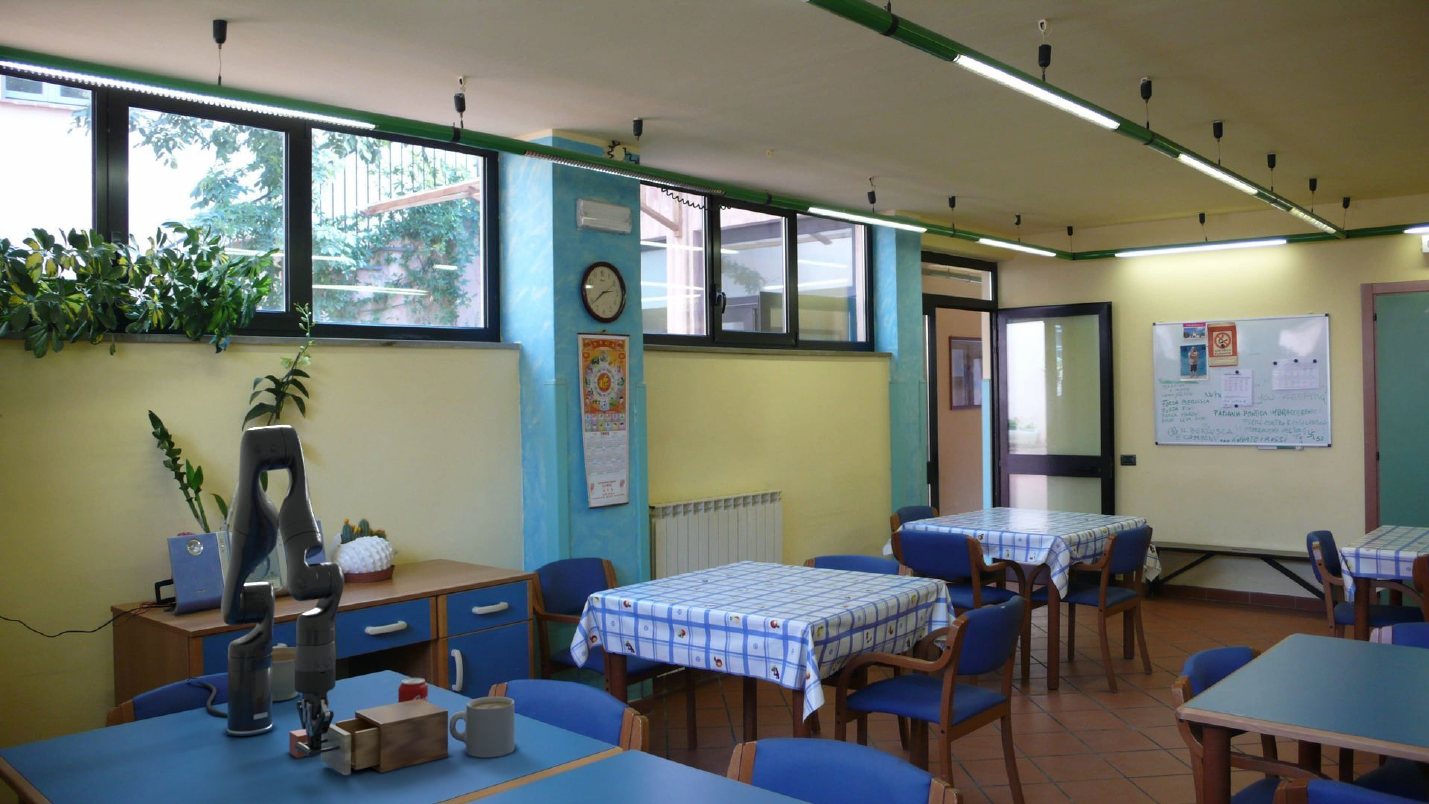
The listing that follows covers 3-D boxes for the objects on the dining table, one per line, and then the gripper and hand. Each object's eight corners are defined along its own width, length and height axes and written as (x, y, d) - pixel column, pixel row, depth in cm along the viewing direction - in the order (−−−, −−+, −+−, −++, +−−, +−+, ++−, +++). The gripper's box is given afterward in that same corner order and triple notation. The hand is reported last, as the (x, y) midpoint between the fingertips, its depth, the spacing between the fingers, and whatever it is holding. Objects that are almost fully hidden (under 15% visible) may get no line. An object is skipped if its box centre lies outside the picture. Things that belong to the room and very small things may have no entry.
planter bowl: (228, 704, 256) (228, 659, 257) (266, 687, 272) (267, 646, 273) (288, 707, 254) (288, 662, 254) (323, 690, 270) (324, 648, 270)
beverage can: (419, 739, 228) (419, 684, 229) (392, 737, 230) (393, 683, 230) (432, 731, 235) (432, 677, 235) (406, 729, 236) (407, 676, 236)
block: (289, 753, 219) (289, 731, 219) (310, 748, 222) (310, 727, 222) (297, 758, 216) (297, 736, 216) (318, 753, 219) (319, 732, 219)
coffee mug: (519, 743, 226) (519, 697, 226) (506, 758, 216) (507, 709, 216) (459, 741, 227) (459, 695, 227) (443, 756, 217) (444, 708, 217)
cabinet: (381, 772, 207) (381, 724, 207) (354, 757, 216) (354, 711, 216) (447, 756, 217) (448, 710, 217) (419, 743, 226) (420, 698, 226)
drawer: (312, 782, 198) (313, 741, 199) (290, 768, 207) (290, 728, 207) (409, 760, 212) (409, 721, 212) (384, 747, 220) (385, 710, 220)
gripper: (283, 662, 207) (282, 750, 207) (309, 674, 197) (308, 766, 197) (320, 656, 212) (319, 742, 212) (348, 668, 202) (347, 757, 202)
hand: (314, 753), depth 204 cm, fingers closed
